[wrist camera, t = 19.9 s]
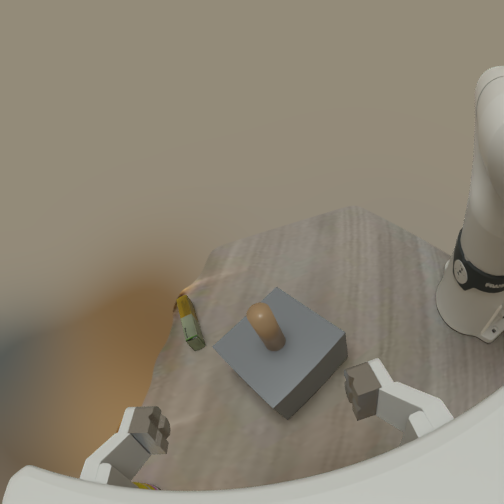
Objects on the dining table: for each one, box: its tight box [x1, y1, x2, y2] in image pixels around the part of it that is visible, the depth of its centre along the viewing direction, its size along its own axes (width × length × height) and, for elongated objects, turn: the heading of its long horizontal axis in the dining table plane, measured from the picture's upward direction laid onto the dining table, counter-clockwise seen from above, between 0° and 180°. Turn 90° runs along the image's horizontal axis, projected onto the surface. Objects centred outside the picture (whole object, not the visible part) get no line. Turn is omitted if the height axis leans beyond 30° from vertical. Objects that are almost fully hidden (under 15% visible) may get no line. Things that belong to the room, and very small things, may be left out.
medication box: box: [176, 295, 205, 351], centre depth 56 cm, size 12×3×4 cm, turn 22°
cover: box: [212, 287, 348, 420], centre depth 39 cm, size 14×14×17 cm
